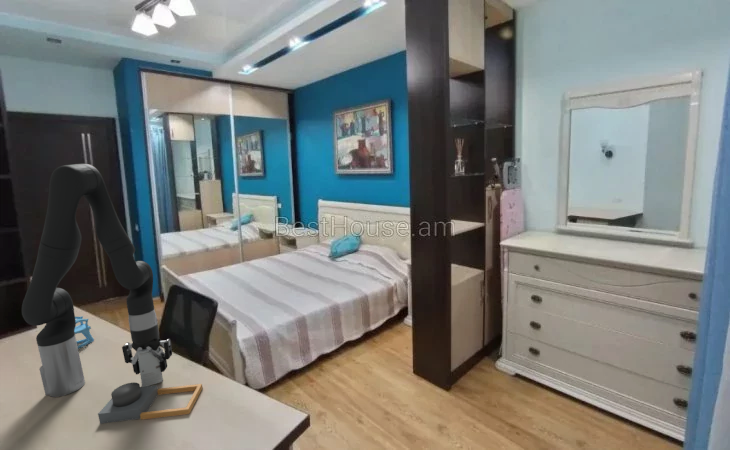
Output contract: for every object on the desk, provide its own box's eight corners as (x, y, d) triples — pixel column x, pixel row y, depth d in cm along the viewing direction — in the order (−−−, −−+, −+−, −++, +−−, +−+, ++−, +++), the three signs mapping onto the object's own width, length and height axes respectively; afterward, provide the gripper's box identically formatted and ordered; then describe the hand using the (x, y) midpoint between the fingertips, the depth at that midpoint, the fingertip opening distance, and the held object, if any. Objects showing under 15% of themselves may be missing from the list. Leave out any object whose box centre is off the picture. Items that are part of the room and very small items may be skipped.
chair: (97, 342, 150) (91, 314, 148) (72, 351, 143) (67, 322, 141) (88, 338, 154) (83, 311, 152) (64, 346, 147) (59, 318, 145)
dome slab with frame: (98, 424, 101) (94, 405, 100) (122, 397, 113) (118, 379, 112) (189, 413, 104) (186, 395, 102) (202, 388, 115) (200, 370, 114)
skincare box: (142, 388, 115) (136, 353, 113) (141, 381, 119) (135, 347, 117) (164, 381, 119) (158, 347, 116) (162, 374, 122) (157, 341, 120)
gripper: (112, 332, 111) (121, 381, 114) (162, 327, 112) (169, 376, 115) (125, 321, 118) (133, 367, 121) (172, 317, 120) (178, 363, 123)
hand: (151, 371), depth 118 cm, fingers closed on skincare box, 7 cm apart
